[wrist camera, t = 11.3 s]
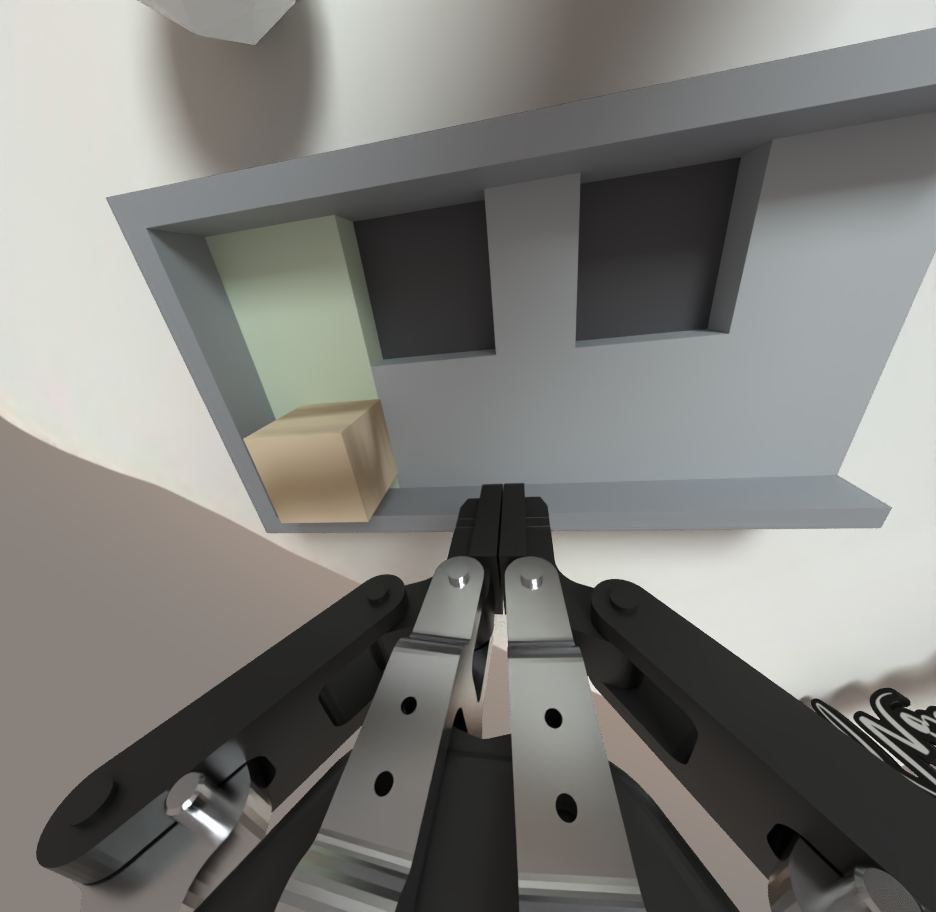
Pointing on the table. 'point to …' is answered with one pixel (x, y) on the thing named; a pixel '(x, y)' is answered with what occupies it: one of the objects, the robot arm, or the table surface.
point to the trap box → (578, 294)
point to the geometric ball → (224, 16)
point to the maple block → (325, 461)
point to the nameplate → (893, 734)
